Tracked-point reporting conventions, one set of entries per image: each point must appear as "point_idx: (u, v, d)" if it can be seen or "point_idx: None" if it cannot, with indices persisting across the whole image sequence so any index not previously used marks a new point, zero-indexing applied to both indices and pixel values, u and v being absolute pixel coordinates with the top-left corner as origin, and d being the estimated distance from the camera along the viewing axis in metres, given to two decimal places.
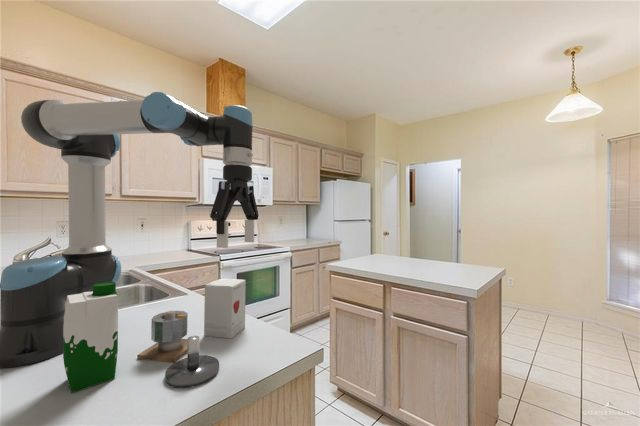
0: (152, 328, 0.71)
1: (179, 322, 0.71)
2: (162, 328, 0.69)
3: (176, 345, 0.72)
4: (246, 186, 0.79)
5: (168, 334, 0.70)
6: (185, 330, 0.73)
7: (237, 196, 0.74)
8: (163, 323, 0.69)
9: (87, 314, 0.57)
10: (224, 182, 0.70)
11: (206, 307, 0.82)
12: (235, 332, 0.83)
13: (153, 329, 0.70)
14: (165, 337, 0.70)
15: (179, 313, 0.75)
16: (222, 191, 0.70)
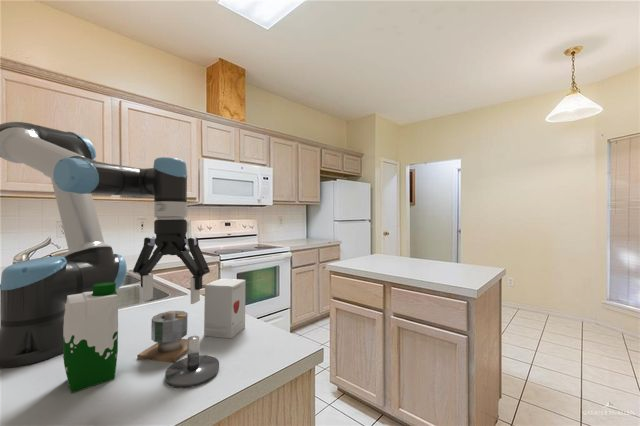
0: (152, 328, 0.71)
1: (179, 322, 0.71)
2: (162, 328, 0.69)
3: (176, 345, 0.72)
4: (178, 239, 0.72)
5: (168, 334, 0.70)
6: (185, 330, 0.73)
7: (156, 252, 0.72)
8: (163, 323, 0.69)
9: (87, 314, 0.57)
10: None
11: (206, 307, 0.82)
12: (235, 332, 0.83)
13: (153, 329, 0.70)
14: (165, 337, 0.70)
15: (179, 313, 0.75)
16: None
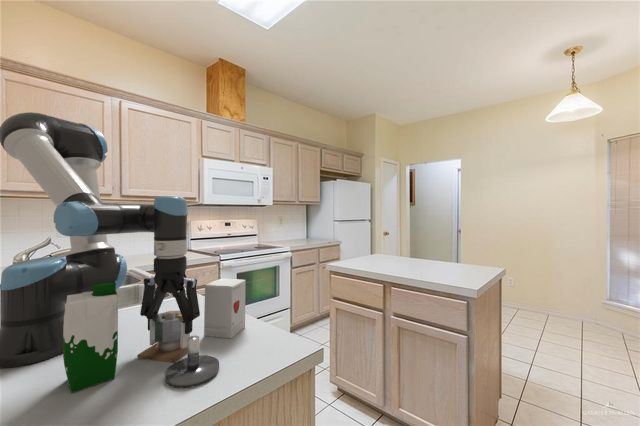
0: (152, 328, 0.71)
1: (179, 322, 0.71)
2: (162, 328, 0.69)
3: (176, 345, 0.72)
4: (177, 278, 0.72)
5: (168, 334, 0.70)
6: None
7: (157, 291, 0.72)
8: (163, 323, 0.69)
9: (87, 314, 0.57)
10: None
11: (206, 307, 0.82)
12: (235, 332, 0.83)
13: (153, 329, 0.70)
14: (165, 337, 0.70)
15: (179, 313, 0.75)
16: None
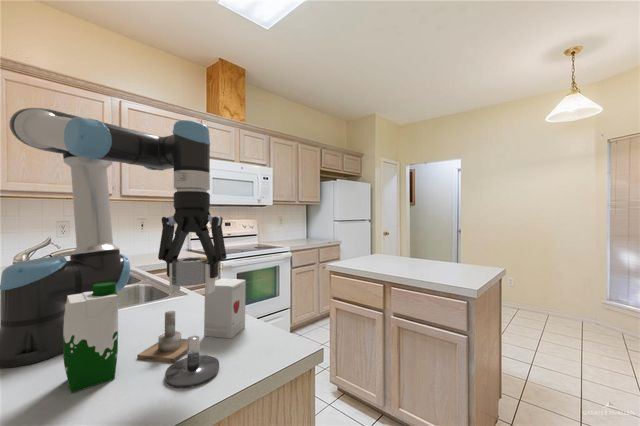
0: (173, 271, 0.62)
1: (203, 264, 0.63)
2: (185, 269, 0.61)
3: (176, 345, 0.72)
4: (201, 214, 0.63)
5: (192, 276, 0.61)
6: None
7: (178, 230, 0.63)
8: (186, 263, 0.61)
9: (87, 314, 0.57)
10: None
11: (206, 307, 0.82)
12: (235, 332, 0.83)
13: (174, 271, 0.62)
14: (188, 280, 0.61)
15: None
16: None
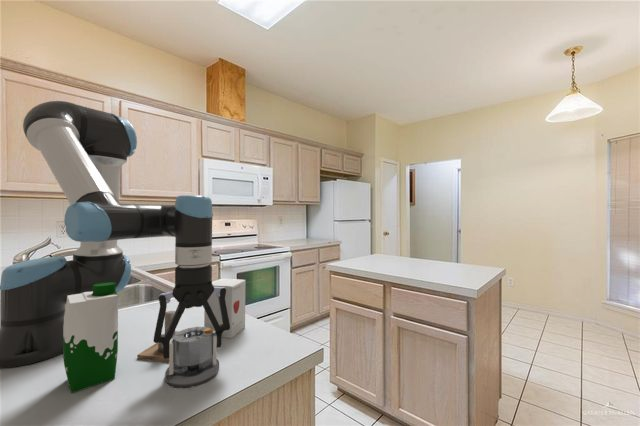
0: (182, 351, 0.60)
1: (212, 336, 0.64)
2: (199, 347, 0.61)
3: None
4: (208, 287, 0.64)
5: (205, 352, 0.62)
6: None
7: (182, 307, 0.61)
8: (201, 341, 0.61)
9: (87, 314, 0.57)
10: (159, 297, 0.60)
11: None
12: (235, 332, 0.83)
13: (184, 352, 0.60)
14: (202, 356, 0.61)
15: (198, 329, 0.66)
16: None
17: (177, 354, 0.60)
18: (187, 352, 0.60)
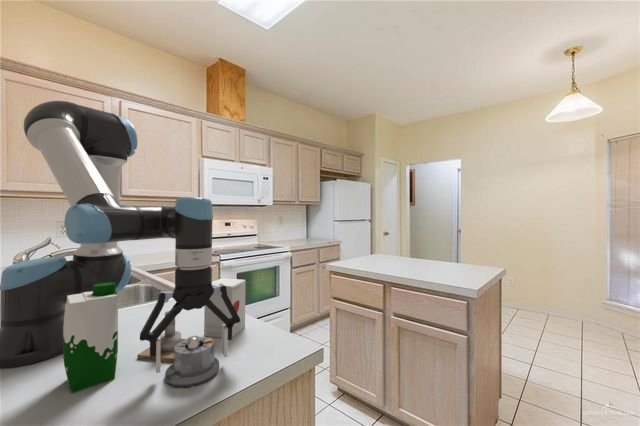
0: (184, 363, 0.60)
1: (213, 347, 0.64)
2: (201, 358, 0.61)
3: None
4: (208, 289, 0.64)
5: (207, 363, 0.62)
6: None
7: (179, 308, 0.61)
8: (202, 352, 0.61)
9: (87, 314, 0.57)
10: (159, 294, 0.60)
11: (206, 307, 0.82)
12: (235, 332, 0.83)
13: (186, 363, 0.60)
14: (204, 367, 0.61)
15: None
16: (156, 305, 0.60)
17: (179, 366, 0.60)
18: (189, 363, 0.60)
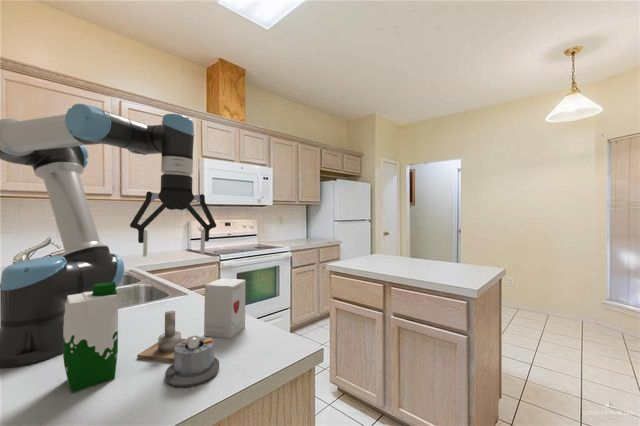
0: (184, 363, 0.60)
1: (213, 347, 0.64)
2: (201, 358, 0.61)
3: None
4: (188, 195, 0.76)
5: (207, 363, 0.62)
6: None
7: (163, 206, 0.73)
8: (202, 352, 0.61)
9: (87, 314, 0.57)
10: (147, 192, 0.72)
11: (206, 307, 0.82)
12: (235, 332, 0.83)
13: (186, 363, 0.60)
14: (204, 367, 0.61)
15: None
16: None
17: (179, 366, 0.60)
18: (189, 363, 0.60)
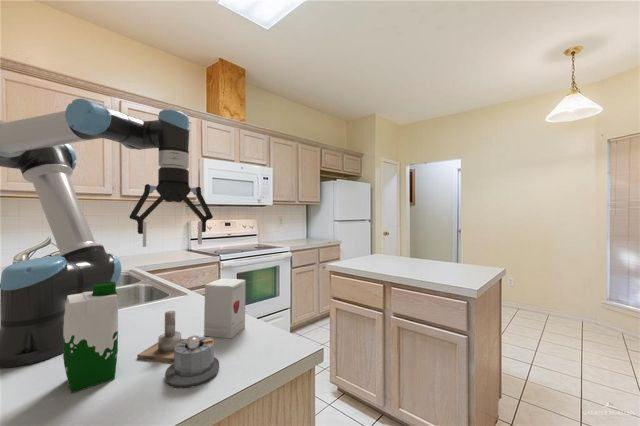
0: (184, 363, 0.60)
1: (213, 347, 0.64)
2: (201, 358, 0.61)
3: None
4: (185, 187, 0.79)
5: (207, 363, 0.62)
6: None
7: (161, 198, 0.76)
8: (202, 352, 0.61)
9: (87, 314, 0.57)
10: (145, 185, 0.75)
11: (206, 307, 0.82)
12: (235, 332, 0.83)
13: (186, 363, 0.60)
14: (204, 367, 0.61)
15: None
16: (143, 194, 0.75)
17: (179, 366, 0.60)
18: (189, 363, 0.60)
